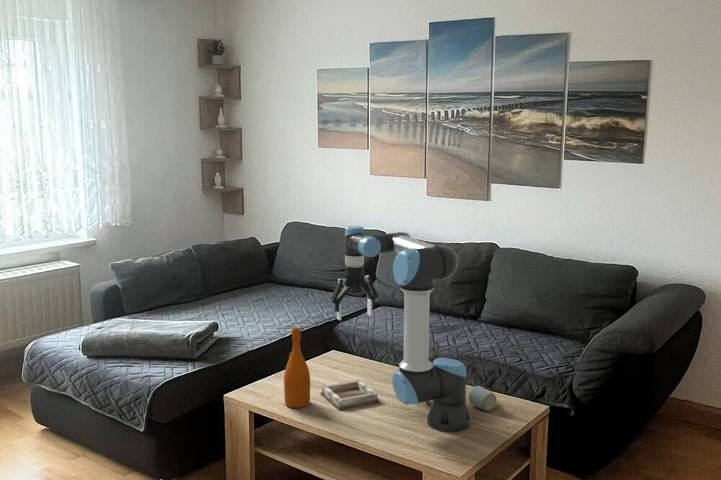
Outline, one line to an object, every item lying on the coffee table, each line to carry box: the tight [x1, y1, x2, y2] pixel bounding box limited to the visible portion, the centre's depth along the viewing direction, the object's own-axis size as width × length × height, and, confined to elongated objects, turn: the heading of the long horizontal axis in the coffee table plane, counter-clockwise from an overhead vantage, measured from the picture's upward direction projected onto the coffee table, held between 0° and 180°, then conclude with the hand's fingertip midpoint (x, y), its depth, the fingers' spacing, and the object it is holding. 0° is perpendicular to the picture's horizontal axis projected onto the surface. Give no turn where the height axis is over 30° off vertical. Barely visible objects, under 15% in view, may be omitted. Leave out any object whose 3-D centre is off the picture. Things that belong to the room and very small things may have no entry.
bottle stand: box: [320, 379, 380, 411], centre depth 294 cm, size 17×17×4 cm
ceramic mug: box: [468, 385, 499, 412], centre depth 285 cm, size 11×8×8 cm
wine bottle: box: [283, 327, 311, 409], centre depth 286 cm, size 10×10×30 cm
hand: (354, 317), depth 304 cm, fingers open, 13 cm apart
